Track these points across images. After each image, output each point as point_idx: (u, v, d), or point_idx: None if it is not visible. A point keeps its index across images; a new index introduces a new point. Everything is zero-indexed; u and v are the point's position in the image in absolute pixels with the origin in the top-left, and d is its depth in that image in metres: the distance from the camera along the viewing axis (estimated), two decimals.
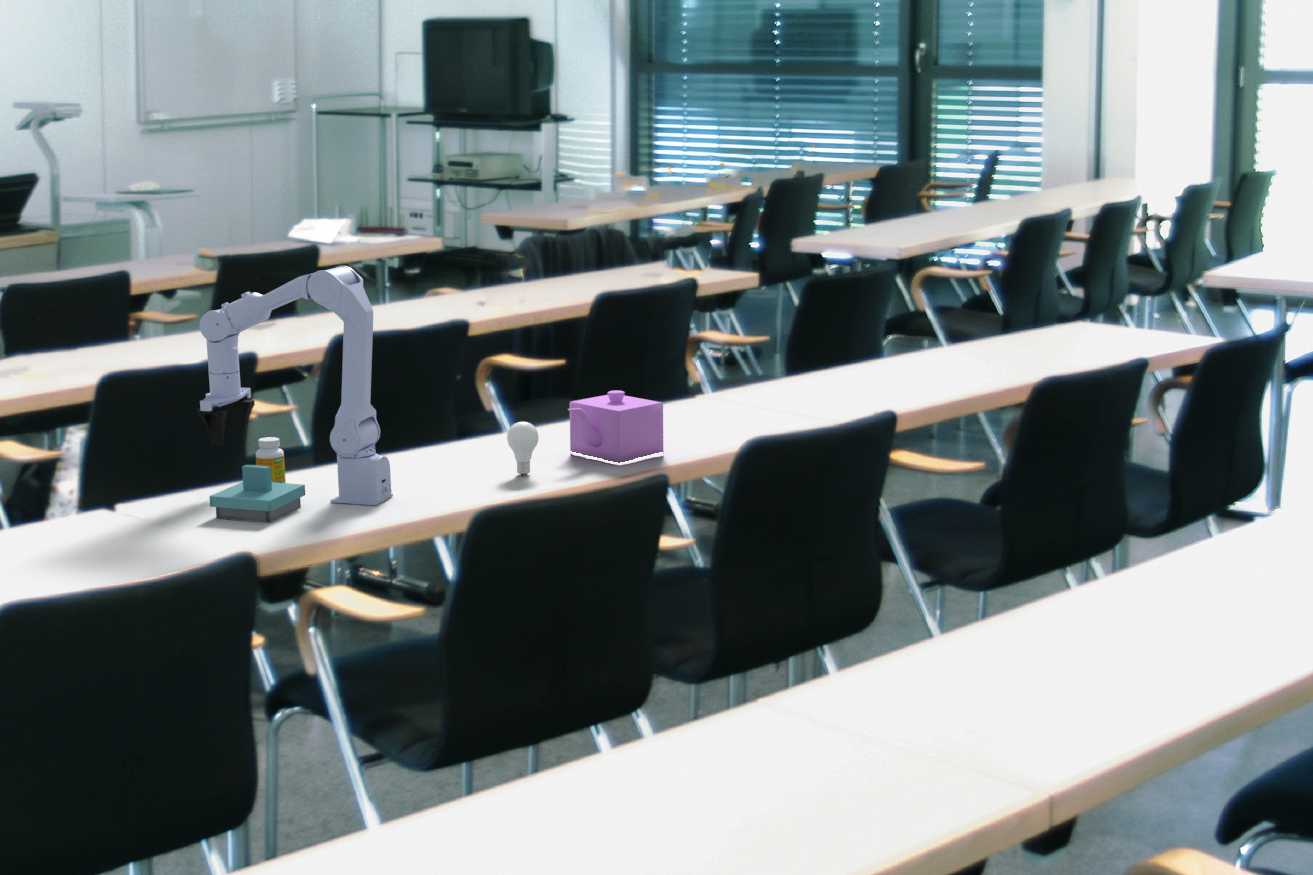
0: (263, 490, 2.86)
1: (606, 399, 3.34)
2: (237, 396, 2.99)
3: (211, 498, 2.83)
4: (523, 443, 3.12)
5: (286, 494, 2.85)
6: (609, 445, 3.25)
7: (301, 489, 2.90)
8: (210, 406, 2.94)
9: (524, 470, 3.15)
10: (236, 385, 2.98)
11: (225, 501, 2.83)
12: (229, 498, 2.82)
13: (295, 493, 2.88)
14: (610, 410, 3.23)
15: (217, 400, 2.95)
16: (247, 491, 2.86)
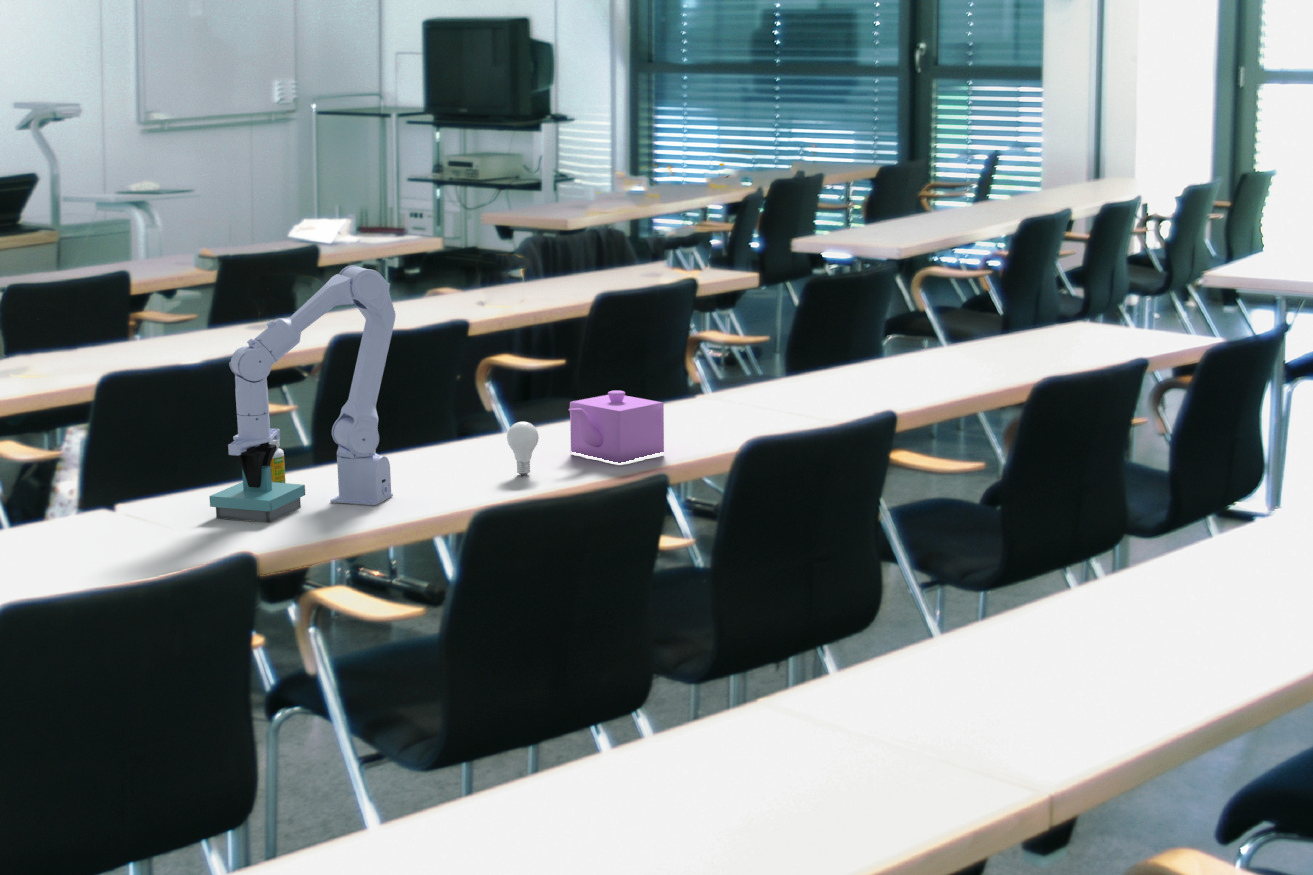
0: (263, 490, 2.86)
1: (606, 399, 3.34)
2: (267, 439, 2.84)
3: (211, 498, 2.83)
4: (523, 443, 3.12)
5: (286, 494, 2.85)
6: (610, 445, 3.25)
7: (301, 489, 2.90)
8: (239, 450, 2.79)
9: (524, 470, 3.15)
10: (265, 427, 2.83)
11: (225, 501, 2.83)
12: (229, 498, 2.82)
13: (295, 493, 2.88)
14: (611, 410, 3.23)
15: (246, 443, 2.80)
16: (247, 491, 2.86)
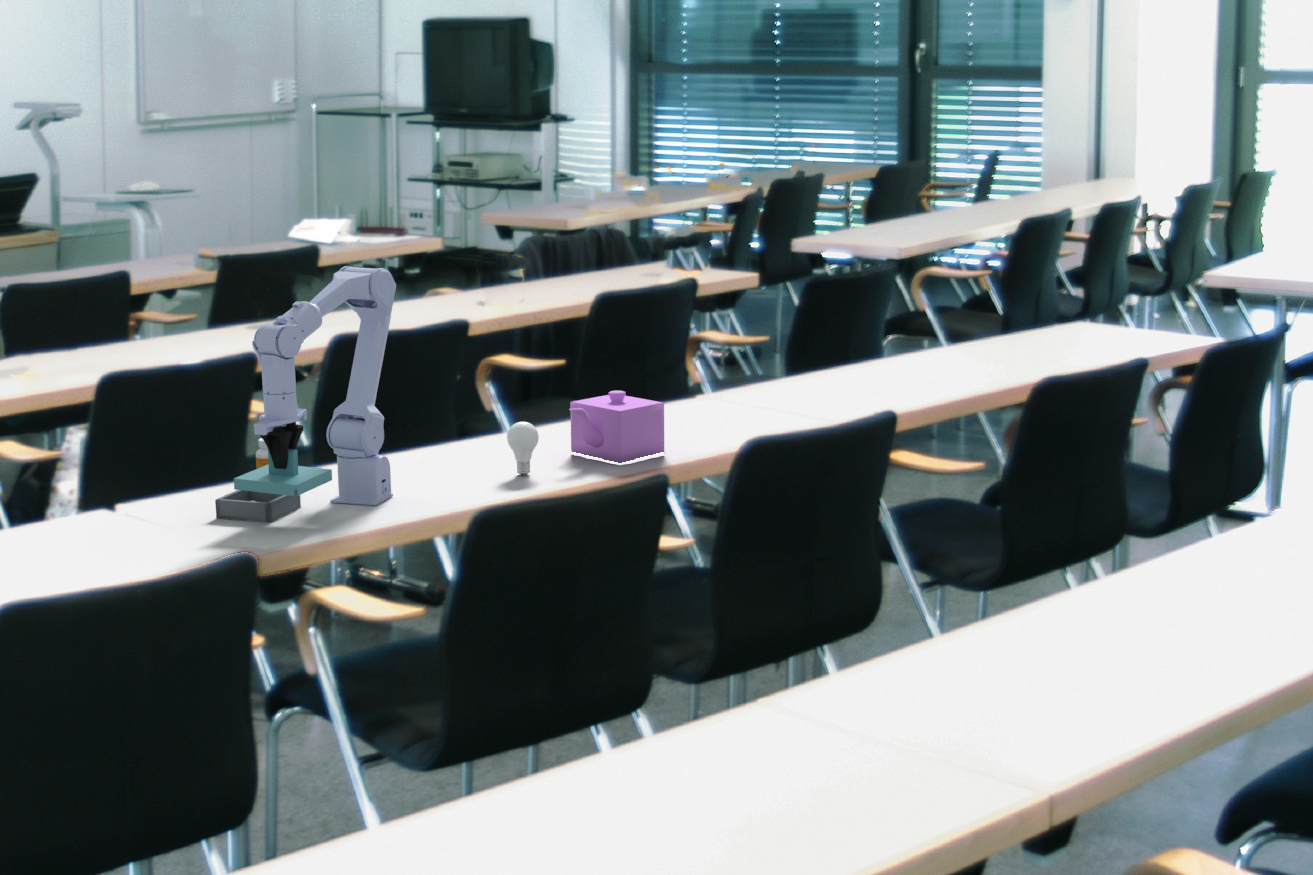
0: (289, 474, 2.78)
1: (607, 399, 3.34)
2: (293, 418, 2.76)
3: (235, 480, 2.75)
4: (523, 443, 3.12)
5: (313, 479, 2.77)
6: (610, 445, 3.25)
7: (328, 474, 2.82)
8: (265, 429, 2.70)
9: (524, 470, 3.15)
10: (292, 406, 2.75)
11: (250, 484, 2.74)
12: (254, 481, 2.74)
13: (322, 477, 2.80)
14: (611, 410, 3.23)
15: (272, 423, 2.72)
16: (272, 474, 2.78)
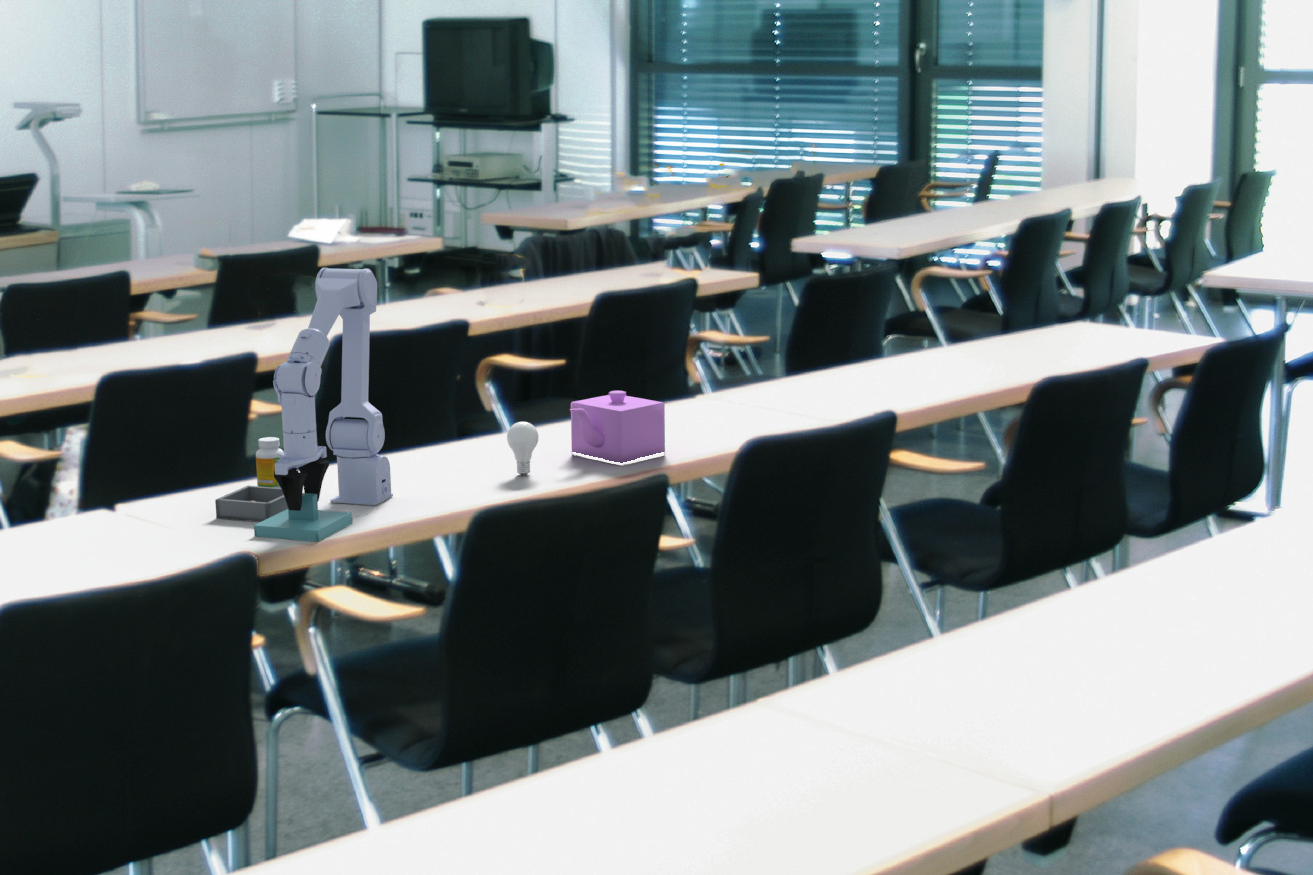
0: (309, 519, 2.75)
1: (607, 399, 3.34)
2: (314, 457, 2.73)
3: (256, 527, 2.72)
4: (522, 443, 3.12)
5: (333, 523, 2.74)
6: (611, 445, 3.25)
7: (348, 518, 2.79)
8: (286, 469, 2.67)
9: (524, 470, 3.15)
10: (313, 445, 2.72)
11: (270, 530, 2.72)
12: (274, 527, 2.71)
13: (342, 521, 2.77)
14: (612, 410, 3.23)
15: (293, 462, 2.69)
16: (292, 520, 2.76)
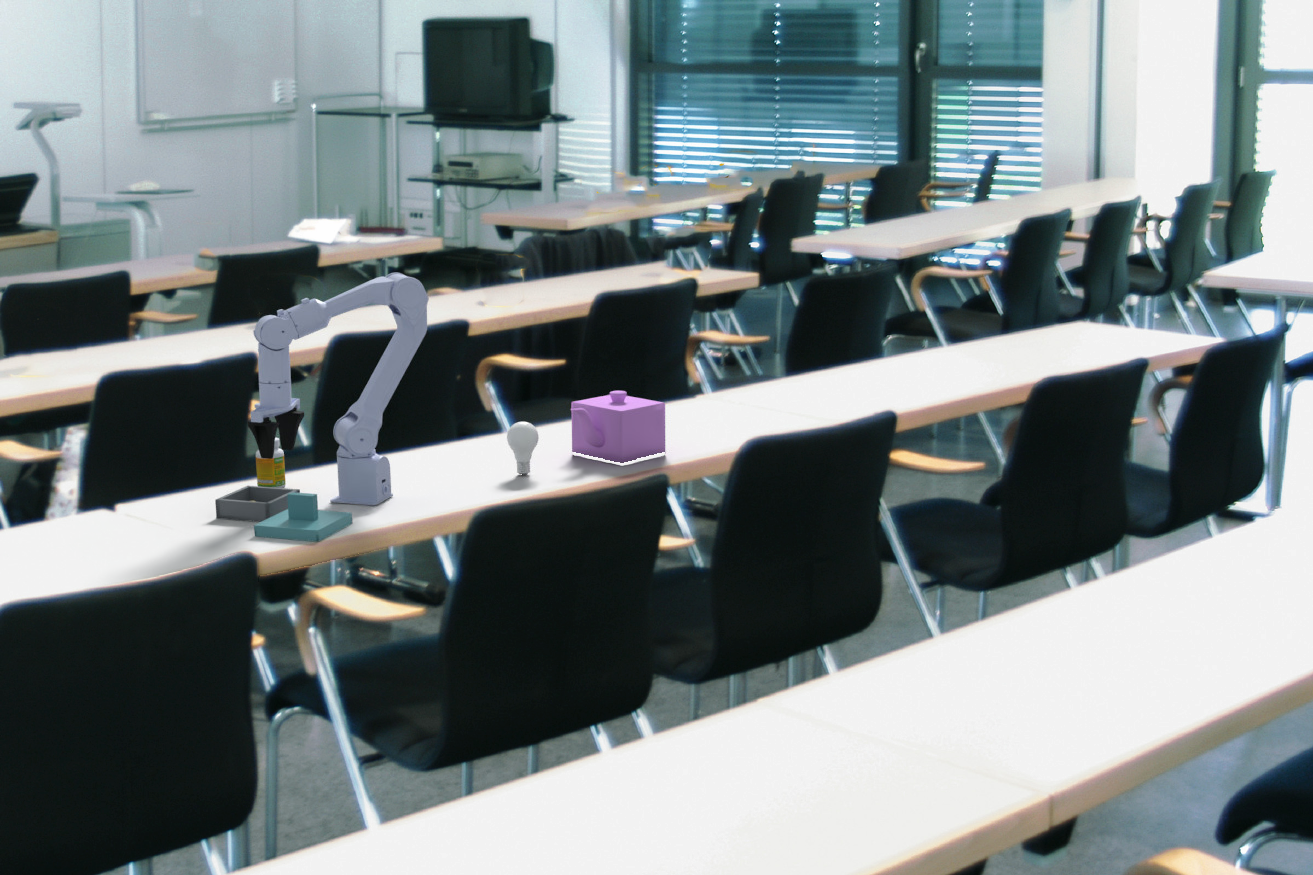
0: (309, 519, 2.75)
1: (608, 399, 3.33)
2: (288, 407, 2.86)
3: (256, 527, 2.72)
4: (523, 443, 3.12)
5: (333, 523, 2.74)
6: (612, 445, 3.24)
7: (348, 518, 2.79)
8: (261, 417, 2.81)
9: (524, 470, 3.15)
10: (287, 396, 2.86)
11: (270, 530, 2.72)
12: (274, 527, 2.71)
13: (342, 521, 2.77)
14: (613, 410, 3.23)
15: (268, 411, 2.82)
16: (292, 520, 2.76)
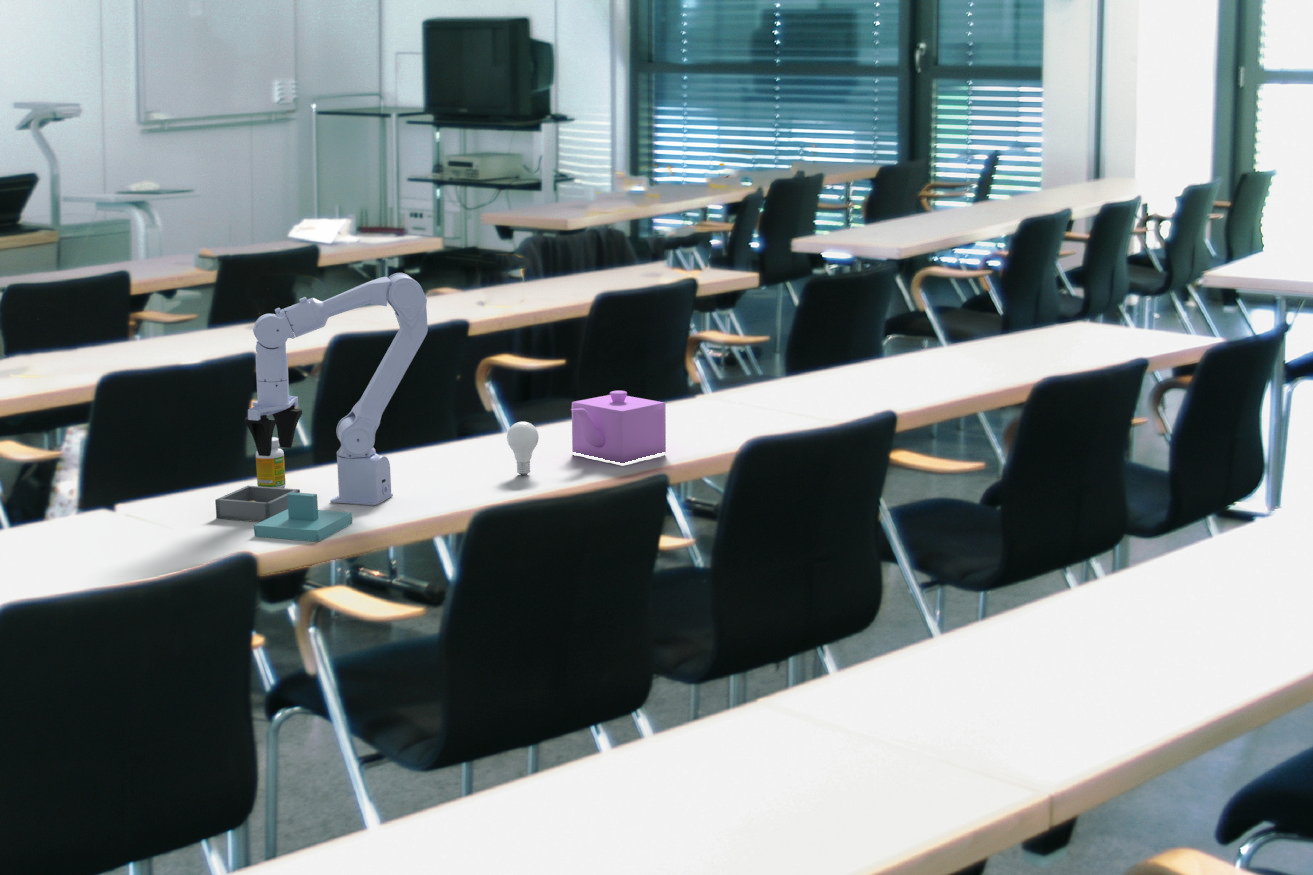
0: (309, 519, 2.75)
1: (608, 399, 3.33)
2: (285, 405, 2.88)
3: (256, 527, 2.72)
4: (523, 443, 3.12)
5: (333, 523, 2.74)
6: (612, 445, 3.24)
7: (348, 518, 2.79)
8: (258, 415, 2.83)
9: (524, 470, 3.15)
10: (284, 394, 2.88)
11: (270, 530, 2.72)
12: (274, 527, 2.71)
13: (342, 521, 2.77)
14: (613, 410, 3.23)
15: (265, 409, 2.84)
16: (292, 520, 2.76)
